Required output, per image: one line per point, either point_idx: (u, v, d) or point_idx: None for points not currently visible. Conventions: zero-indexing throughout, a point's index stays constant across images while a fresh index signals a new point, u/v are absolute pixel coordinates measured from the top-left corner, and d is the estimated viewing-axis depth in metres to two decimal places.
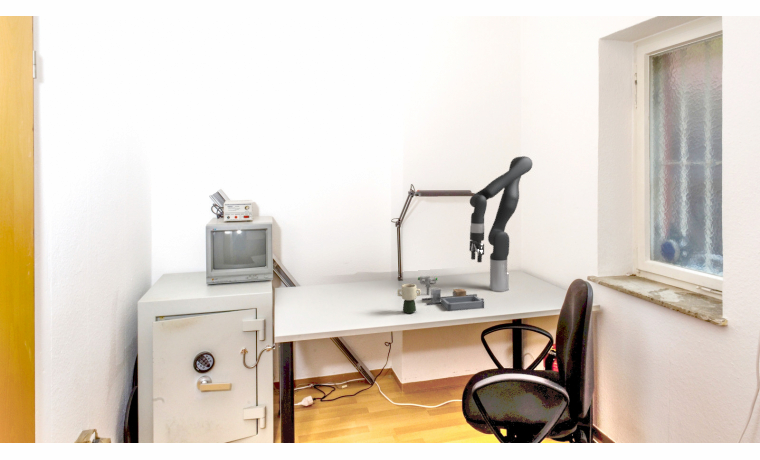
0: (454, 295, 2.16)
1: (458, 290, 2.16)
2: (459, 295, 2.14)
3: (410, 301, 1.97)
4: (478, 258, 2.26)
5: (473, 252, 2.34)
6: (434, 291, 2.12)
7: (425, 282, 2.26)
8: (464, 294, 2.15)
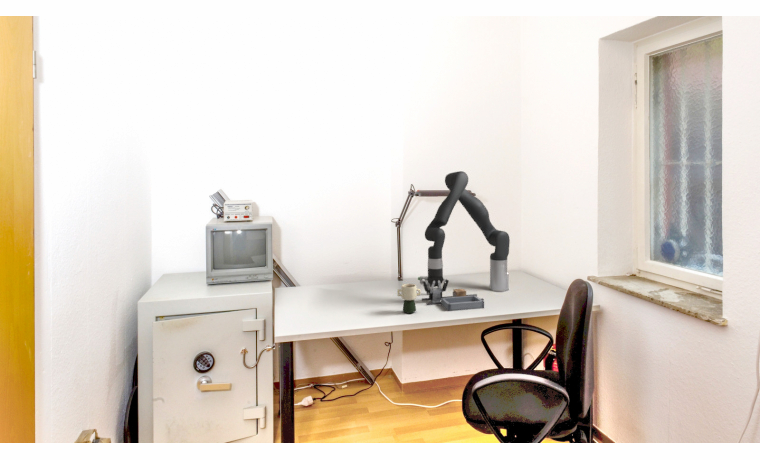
0: (454, 295, 2.16)
1: (458, 290, 2.16)
2: (459, 295, 2.14)
3: (410, 301, 1.97)
4: (441, 295, 2.14)
5: None
6: (434, 291, 2.12)
7: None
8: (464, 294, 2.15)
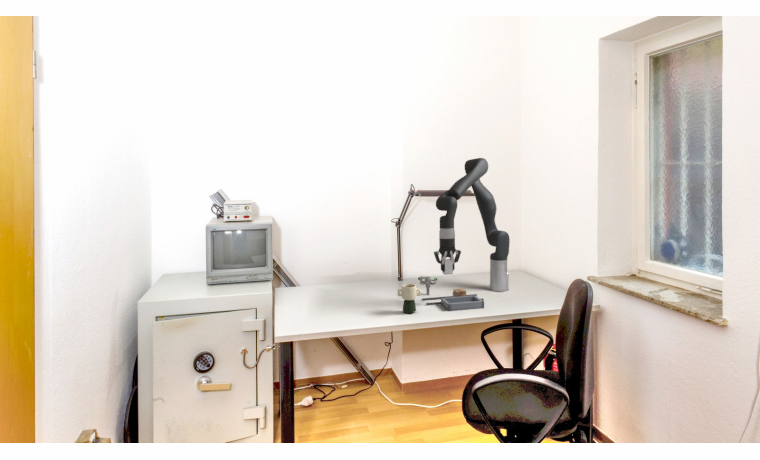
0: (454, 295, 2.16)
1: (458, 290, 2.16)
2: (459, 295, 2.14)
3: (410, 301, 1.97)
4: (453, 266, 2.08)
5: None
6: (446, 262, 2.06)
7: (425, 282, 2.26)
8: (464, 294, 2.15)
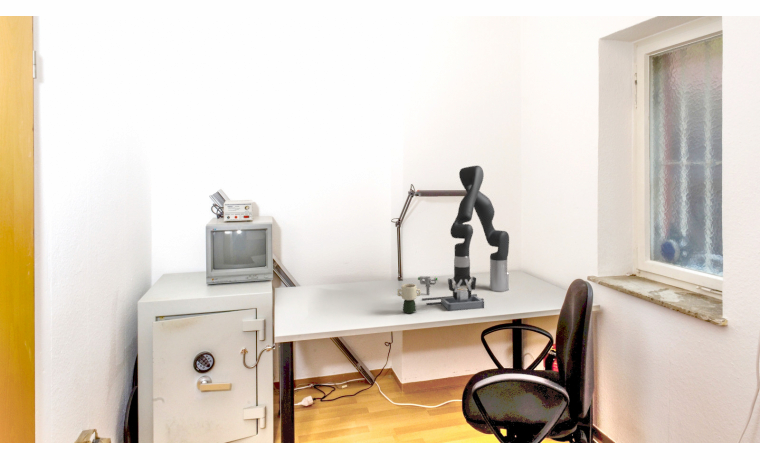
0: None
1: None
2: None
3: (410, 301, 1.97)
4: (470, 294, 2.05)
5: None
6: (461, 293, 2.03)
7: (425, 282, 2.26)
8: None
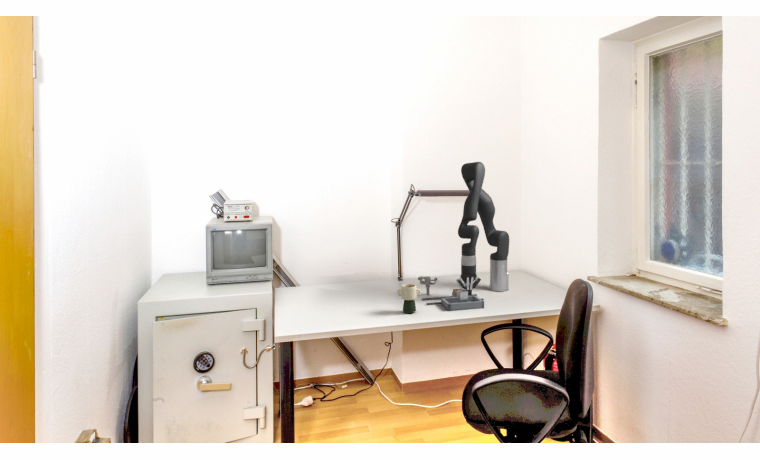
0: (453, 295, 2.16)
1: None
2: None
3: (410, 301, 1.97)
4: (470, 292, 2.17)
5: None
6: (461, 293, 2.03)
7: (425, 282, 2.26)
8: None
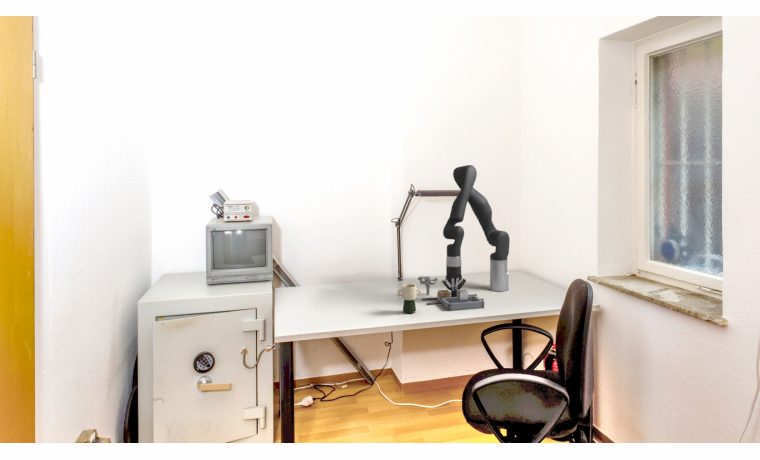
0: (438, 296, 2.14)
1: (443, 291, 2.14)
2: (443, 296, 2.13)
3: (410, 301, 1.97)
4: (455, 293, 2.15)
5: None
6: (461, 293, 2.03)
7: (425, 282, 2.26)
8: (448, 295, 2.13)
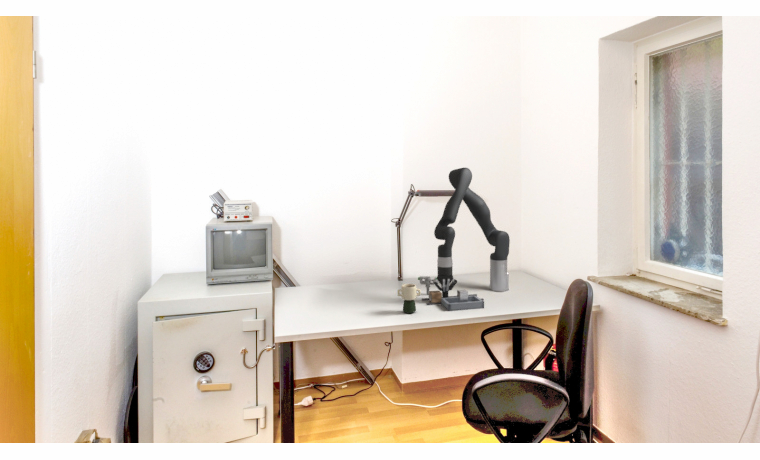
0: (430, 297, 2.14)
1: (434, 292, 2.14)
2: (435, 297, 2.12)
3: (410, 301, 1.97)
4: (447, 294, 2.15)
5: None
6: (461, 293, 2.03)
7: (425, 282, 2.26)
8: (440, 296, 2.12)
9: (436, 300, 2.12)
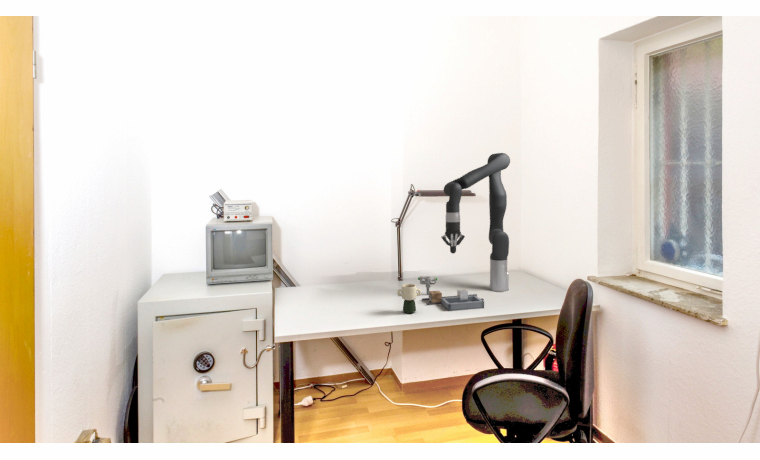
0: (430, 297, 2.14)
1: (434, 292, 2.14)
2: (434, 297, 2.12)
3: (410, 301, 1.97)
4: (454, 249, 2.23)
5: None
6: (461, 293, 2.03)
7: (425, 282, 2.26)
8: (440, 296, 2.12)
9: (436, 300, 2.12)
